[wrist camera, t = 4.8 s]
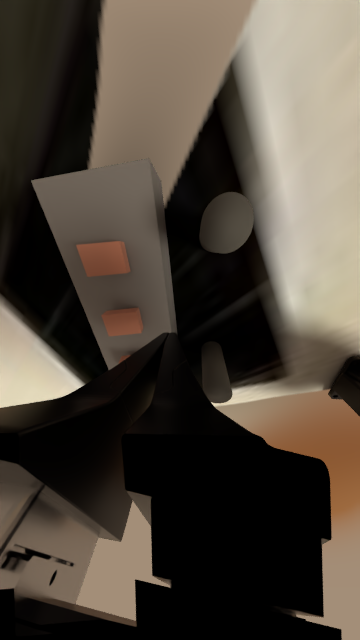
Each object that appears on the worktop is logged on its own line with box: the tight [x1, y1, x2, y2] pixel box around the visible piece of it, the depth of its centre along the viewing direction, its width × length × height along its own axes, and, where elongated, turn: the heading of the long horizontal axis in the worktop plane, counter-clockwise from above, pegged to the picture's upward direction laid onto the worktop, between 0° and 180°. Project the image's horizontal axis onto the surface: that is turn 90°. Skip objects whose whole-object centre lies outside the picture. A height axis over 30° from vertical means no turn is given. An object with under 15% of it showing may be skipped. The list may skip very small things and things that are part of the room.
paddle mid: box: [101, 308, 143, 336], centre depth 12 cm, size 3×2×1 cm
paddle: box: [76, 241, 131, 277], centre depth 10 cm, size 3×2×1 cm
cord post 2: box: [201, 341, 232, 403], centre depth 15 cm, size 2×2×6 cm
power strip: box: [31, 158, 178, 370], centre depth 14 cm, size 8×20×3 cm, turn 5°
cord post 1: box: [199, 192, 254, 253], centre depth 9 cm, size 2×2×6 cm
